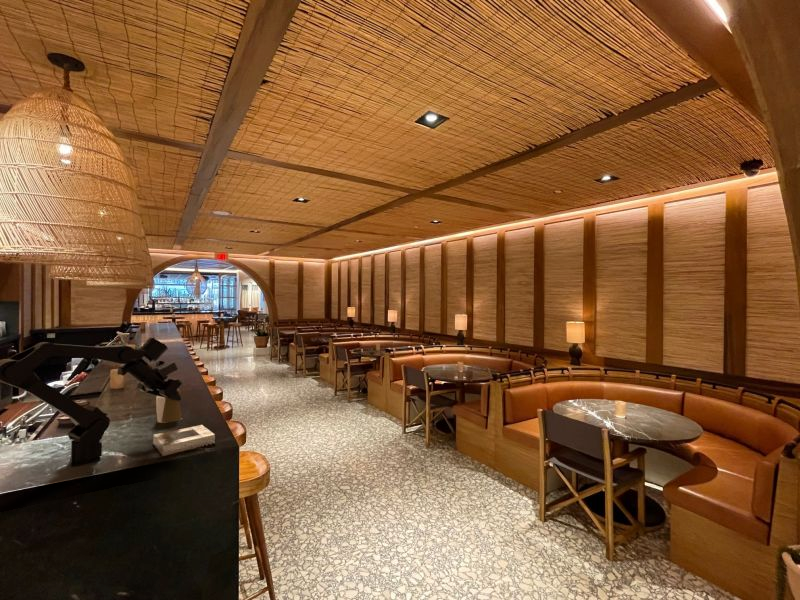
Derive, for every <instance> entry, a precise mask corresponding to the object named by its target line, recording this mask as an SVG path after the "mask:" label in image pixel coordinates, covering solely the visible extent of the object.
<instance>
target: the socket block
mask: <svg viewBox="0 0 800 600" xmlns="http://www.w3.org/2000/svg"><path fill="white" fill-rule="evenodd" d="M152 435H153V436H152V437H153V439H152V441H153V442H152V444H153V445H154V447H155V448H156V449H157V450H158V452H159V453H160V454H161V456H162V457H163V456H164V457H165V456H168V455H172V454H177V453H181V452H184V451H185V452H186V451H189V450H193V449H197V447H198V448H202V447H205V446H204V445H206V446H209V445H208V444H210V445H213V444H212V443H214V444H215V443H216V442H215V441H216V434H215V433H214V432H212V431H211V430H210V429H208V428H207V427H205V426H204V425H203V424H199V425H196V426H195V425H194V426H190V427H184V428H180V429H175V430H171V431H170V430H169V431H165V432H161V433H156V434H152ZM201 446H202V447H201Z"/></svg>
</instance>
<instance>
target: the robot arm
mask: <svg viewBox="0 0 800 600" xmlns="http://www.w3.org/2000/svg"><path fill="white" fill-rule="evenodd" d="M168 349H169V347H168V346H167V345H166V343H163V342H161V341H159V340H157V339H156V338H155V337H149V338H148V339H147V340H146V341H145V342H144V344H143V345H141V346H140V347H139V348H135V347H132V346H129V345H122V344H121V345H120V344H112V345H101V346H89V345H78V344H77V345H75V344H61V343H52V342H48V341H46V342H45V341H43V342H38V343H36V344H35V345H33V346H32V347H30V348H27V349H25V350H22V351H21V352H18V353H16V354H14V355H13V356H11V357H9V358H3V359H0V383H4V384H6V385H9V386H12V387H15V388H16V389H17V388H18V389H20V390H23V391H25V392H26V393H28V394H30V395H31V396H33V397H35V398H36V399H38V400H40V401H41V402H43V403H45V404H47V405H48V406H50V407H51V408H53V409H54V410H57V411H58V412H60V413H61V414H63V415H65V416H67V417H68V419H69V420H70V421H71V423H72V424H74V425H75V426H73V427H72V429H70V430H69V431H68V432H67V437H68V439H69V440H71V441H70V442H71V443H70V459H69V462H70V463H69V464H70V467H74V466H75V467H76V466H80V465H85V464H88V463H93V462H94V463H95V462H97V461H100V460H101V457H102V453H103V442H102V439H103V436H104V434H105V433H106V431H107V430H108V428H109V427H110V424H111V420H110V417H109V416H108V415H109V413H107V412H104V411H102V410H101V409H100V408H99V407H98V406H95V405H91V404H87V405H86V406H82V405H81V404H79V403H78V402H76V401H74V400H73V399H72V398H69V397H68V396H66V395H64V393H62V392H60V391H59V390H57V389H55V388H54V387H52V386H51V385H49V384H48V383H46V382H44V381H42V380H41V378H39V376H38V375H37V374H36V372H35V371H34V369H36V368H38V367H39V366H40V365H42V364H43V362H45V361H47V360H48V359H49V358H51V357H53V358H55V357H56V358H68V359H69V358H71V359H73V358H74V359H89V360H90V359H91V360H92V359H93V360H94V359H95V360H100V361H105V362H109V363H113V364H121V365H122V366H121V365H120V366H118V367H117V376H122V377H123V376H126V374H128V375H129V376H131V377H132V378H133V379H135V380H134V381H135V382H136V383H137V388H136V389H137V390H138V391H140V392H142V393H146V394H149V395H153V396H156V397H157V396H160V397H165V398H169V399H173V400H177V401H179V402H180V401H181V400H182V397H181V394H180V395H179V393H178V391H177V389H180V387H181V385H183V381H181V380H180V379H177V378H174V377H172V378H169V376H168V375H170V374H172V373H174V372H176V371H177V370H179V368H178V365H177V364H176V362H175V361H174V360H165V361H164V360H159V359H160V358H161V357H162V356H163V355H164V353H166V352H167V351H168ZM151 362H155V367H153V366H152V365H150V364H149V363H151Z"/></svg>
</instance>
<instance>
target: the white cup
mask: <svg viewBox="0 0 800 600" xmlns="http://www.w3.org/2000/svg"><path fill="white" fill-rule="evenodd" d="M155 400H156V402H155V405H156V407H155V408H156V415H157V416H156V417H157V420H156V421H157V423H158V424H159V423H160V424H163V423H164V424H166V422H162V416H163V410H164V404H165V398H164V397H160V396H156V399H155Z"/></svg>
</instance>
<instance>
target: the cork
mask: <svg viewBox="0 0 800 600" xmlns="http://www.w3.org/2000/svg"><path fill="white" fill-rule="evenodd" d="M177 391H178V393H179V395H180V396H181V392H182V391H181V389H180V388H178V389H177ZM164 398H165V397H164ZM181 419H182V412H181V404H180V401H177V400H173V399H169V398H165V404H164V410H163V416H162V422H165V423H172V422H177V421H180V420H181Z"/></svg>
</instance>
